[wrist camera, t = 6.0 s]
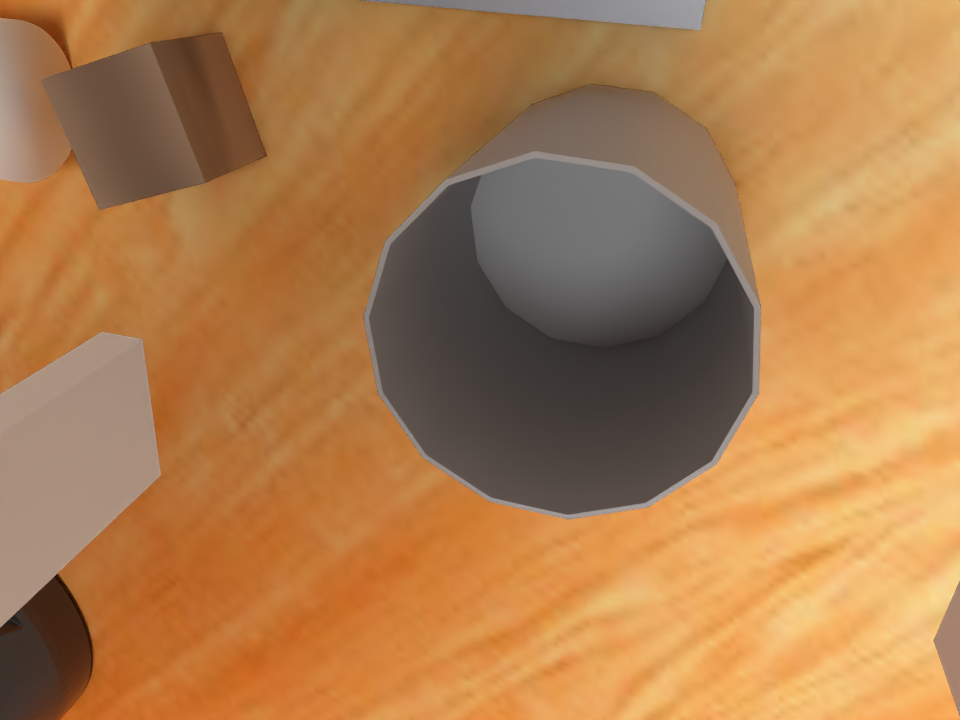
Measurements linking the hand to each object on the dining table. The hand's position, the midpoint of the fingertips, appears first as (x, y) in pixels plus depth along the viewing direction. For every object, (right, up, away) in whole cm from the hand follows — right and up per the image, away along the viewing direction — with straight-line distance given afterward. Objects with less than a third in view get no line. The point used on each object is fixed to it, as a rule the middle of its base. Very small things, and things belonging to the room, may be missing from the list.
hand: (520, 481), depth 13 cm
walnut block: (-10, +10, +15) cm, 21 cm away
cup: (+3, +6, +13) cm, 15 cm away
